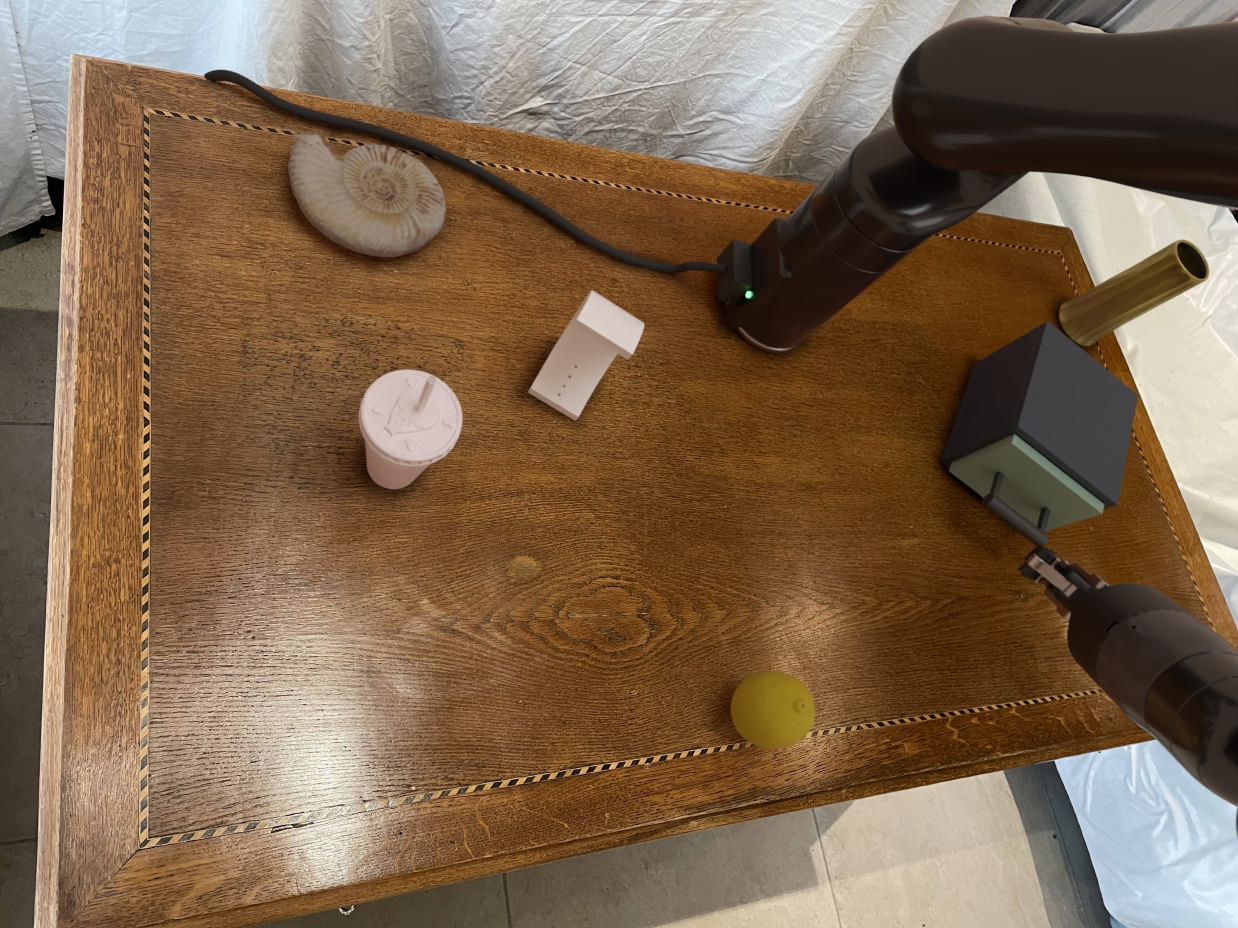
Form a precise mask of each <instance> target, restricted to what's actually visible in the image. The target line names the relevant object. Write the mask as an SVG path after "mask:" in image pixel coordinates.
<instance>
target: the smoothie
mask: <svg viewBox="0 0 1238 928" xmlns="http://www.w3.org/2000/svg"><path fill="white" fill-rule="evenodd" d="M358 427H359V428H360V432H361V434H362V438H363V439H364V442H365V445H364V446H365V459H366V469H367V473H368V475H369V477H370V478H371V479H372V481H373V482H374V483H375V484H377V485H378V486H380V487H383V488H384V489H387V490H388V489H389V490H399V489H403V488H405V487H407V486H409V485H410V484H411V483H413V482H414V481H415V480H416V479H418V477H419V476H420V475H421V474H422V473H423V472H424V471H425V470H426V469H427V468H428V467H430V466H431V465H432V464H435V463H436V462H438V461H440V460H441V459H443V458H444V457H446V456H447V455H448V454H449V453H450V452H451V451H452V450H453V448H454V447H455V446H456V443H457V441H458V440H459V437H460V434H461V431H462V428H463V409H462V406H461V403H460V401H459V398H458V396H457V395H456V394H455V392H454V391H453V389H452V388H451V387H449V385H447V384H446V383H445V382H444V381H443V380H441V379H440V378H439V377H437V376H436V375H433V374H431V373H428V372H426V371H422V370H418V369H397V370H393V371H390V372H386V373H385V374H383V375H382V376H380V377H378V378H377V379H376V380H374V382H372V383H371V385H370V386H369V387H368V388H367V389H366V391H365V393H364V396H363V397H362V399H361V401H360V406H359V410H358Z"/></svg>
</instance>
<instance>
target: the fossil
mask: <svg viewBox="0 0 1238 928" xmlns="http://www.w3.org/2000/svg"><path fill="white" fill-rule="evenodd" d="M287 169H288V172H287V173H288V177H289V183H290V187H291V191H292V194H293V196H294V198H295V200H296V203H297V205H298V206H299V209H300V211H301V212H302V213H303V215H304V216H305V218H306V219H307V221H308V222H309V223H310V224H311V225H312V226H313V227H314V228H316V230H318V232H320V233H321V234H322V235H323V236H324V237H326V238H327V239H329V240H331V241H332V242H334V243H336V244H337V245H340V246H342V247H344V248H346V249H348V250H350V251H353V252H356V253H361V254H364V255H368V256H374V257H378V258H388V257H389V258H396V257H400V256H404V255H405V256H406V255H409V254H412V253H416V252H418V251H420V250H422V249H424V248H425V247H426V246H427V245H429V244H430V242H431V241H432V240H433V239H434V238H435V237H436V236H437V235H438V234H439V233H440V231H441V230H442V228H443V225H444V222H445V218H446V213H447V205H446V203H447V202H446V197H445V193H444V190H443V188H442V187H441V185H440V183H439V182H438V179H437V178H436V177H435V175H434V174H433V173H432V172H431V170H430V169H429V168H428V167H427V165H425V164H424V163H423V162H422V161H420V160H419V159H417V158H416V157H414V156H412V155H410V154H409V153H407V152H403V151H402V150H401V149H399V148H398V149H397V148H394V147H392V145H386V144H376V143H370V144H369V143H368V144H367V143H366V144H363V145H358V146H356V147H353V148H350V149H349V150H348V151H347V152H345V153H344V154H342V156H341V155H338V154H337V153H336V151H335V149H334V148H333V147H332V145H329V144H328V143H327V139H326V136H325V135H324V133H322V132H321V131H320V130H309V131H308V130H307V131H301V132H300V133H299V134H297V135H296V136H295V137H294V139H293V141H292V147H291V149H290V154H289V160H288V162H287Z"/></svg>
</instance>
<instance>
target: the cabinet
mask: <svg viewBox="0 0 1238 928" xmlns="http://www.w3.org/2000/svg"><path fill="white" fill-rule="evenodd" d="M965 386H966V387H965V388H964V389H965V390H964V392H963V395H962V398H961V400H960V404H959V408H958V409H957V412H956V415H955V419H954V421H953V425H952V428H951V430H950V433H949V436H948V439H947V441H946V445H945V449H944V451H943V454H942V457H941V460H940V463H942V464H943V465H944V466H946V467H947V468H948V469H950V466H951V463H952V462H953V461H956V460H958V459H960V458H962V457H964V456H967V455H969V454H971V453H973V452H975V451H977V450H980V449H982V448H984V447H986V446H988V445H991V444H993V443H995V442H997V441H999V440H1002V439H1004V438H1006V437H1008V436H1010V435H1013V434H1018V435H1019V436H1020V437H1022V438H1023V439H1024V440H1026V441H1027V442H1028V443H1029V444H1031V445H1032V446H1033V447H1034V448H1036V449H1037V450H1038V451H1040V452H1041V453H1042V454H1043V455H1045V456H1046V457H1047V458H1048V459H1050V460H1051V461H1052V462H1054V463H1055V464H1056V465H1057V466H1059V467H1060V468H1061V469H1062V470H1064V471H1065V472H1066V473H1068V474H1069V475H1070V476H1071V477H1073V478H1074V479H1075V480H1076V481H1078V482H1079V483H1080V484H1082V485H1083V486H1084V487H1085V488H1087V489H1088V490H1089V491H1090V492H1091V494H1092V495H1093V496H1095V497H1096V498H1097V499H1098V500H1100V501H1101V502H1102V503H1103V504H1104V508H1103V510H1106V509H1108V508H1109V509H1110V508H1112V507H1115V506H1118V505H1119V501H1120V495H1121V490H1122V485H1123V479H1124V473H1125V467H1126V462H1127V456H1128V451H1129V446H1130V441H1131V435H1132V430H1133V424H1134V419H1135V414H1136V408H1137V402H1138V397H1139V394H1137V392H1135V391H1134V390H1133V389H1131V387H1129V386H1128V385H1127V384H1125V383H1124V381H1122V380H1120V378H1118V377H1117V376H1116V375H1114V374H1113V373H1112V372H1110V371H1109V370H1108V369H1107V368H1106V367H1105V366H1103V365H1102V364H1101V363H1099V362H1098V361H1097V360H1096V359H1095V358H1094V357H1092V356H1091V355H1090V354H1089V353H1088V352H1086V351H1085V350H1084V349H1082V347H1080V345H1078V344H1077V343H1075V342H1074V341H1072V340H1071V339H1070V338H1069V337H1068V336H1067V335H1066V334H1064V332H1062V331H1060V330H1059V329H1058V328H1057V327H1055V326H1054V325H1053V324H1052V323H1051V322H1049V320H1048V321H1047V320H1046V321H1045V322H1043V323H1041V324H1040V325H1038V326H1036V327H1034V328H1032V329H1031V330H1029V331H1028V332H1026V333H1024V334H1023V335H1020V336H1019V337H1017V338H1016V339H1014V340H1012V341H1011V342H1009V343H1007V344H1005V345H1004V346H1001V347H1000V348H998V349H997V350H994V351H993V352H992V353H990V354H988V355H987V356H985V357H983V358H981V359H980V360H978V361H976V362H975V363H973V365H972V369H971V372H970V375H969V378H968V380H967V383H966V385H965Z"/></svg>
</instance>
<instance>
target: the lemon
mask: <svg viewBox="0 0 1238 928" xmlns="http://www.w3.org/2000/svg"><path fill="white" fill-rule="evenodd" d="M812 694H813V693H811V691H810V690H809V688H808V687H807V685H806V684H805V683H804V682H803V681H802V680H800V679H799V678H797V677H796V676H794V675H793V674H790V673H787V672H783V671H779V670H765V671H760V672H757V673H754V674H751V675H749V676H748V677H746V678H745V679H744V680H742V681H741V682H740V684H739V685H738V686H737V687H736V688H735V690H734V691H733V695H732V696H731V701H730V717H731V721H732V723H733V725H734V727H735V729H736V731H737V733H738V734H739V735H740V736H741V737H742V738H744V740H745V741H746V742H748V743H750V744H751V745H754V746H755V747H758V748H761V749H768V750H779V749H784V748H788V747H791V746H793V745H795V744H797V743H798V742H800V741H802V740H803V739H804V738H805V737H806V736H807V734H808V733H809V732H810V731H811V729H812V727H813V725H814V723H815V719H816V704H815V700H814V697H813V695H812Z"/></svg>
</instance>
